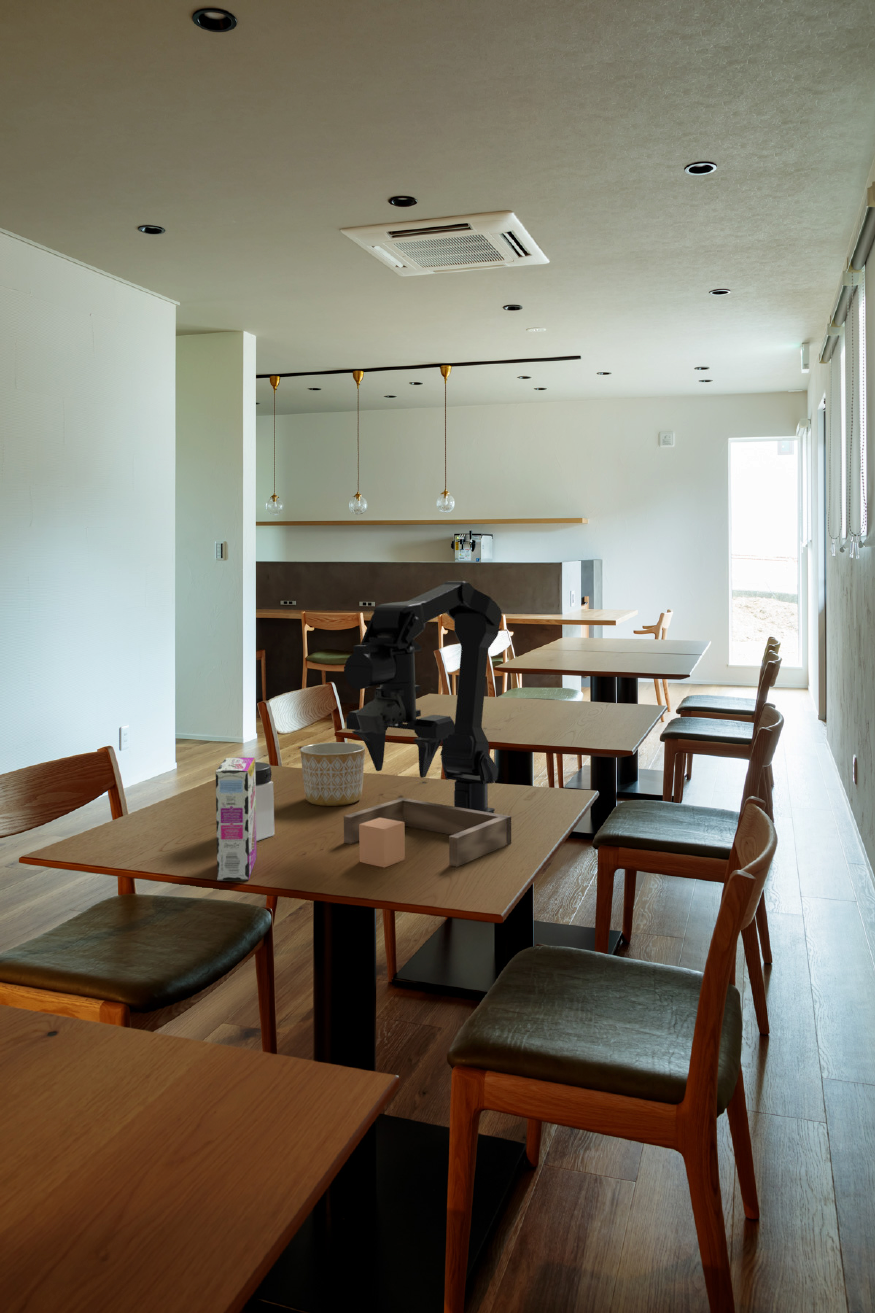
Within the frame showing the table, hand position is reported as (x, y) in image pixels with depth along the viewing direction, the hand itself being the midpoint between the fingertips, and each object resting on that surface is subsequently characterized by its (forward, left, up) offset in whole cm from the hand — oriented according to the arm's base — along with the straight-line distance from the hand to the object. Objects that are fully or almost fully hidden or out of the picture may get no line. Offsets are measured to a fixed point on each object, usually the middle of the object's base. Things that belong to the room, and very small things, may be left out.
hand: (400, 774), depth 160 cm
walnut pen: (-1, +4, -11) cm, 12 cm away
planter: (-15, -29, -12) cm, 34 cm away
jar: (+12, -24, -12) cm, 29 cm away
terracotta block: (+10, +4, -12) cm, 16 cm away
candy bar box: (+26, -11, -12) cm, 31 cm away
